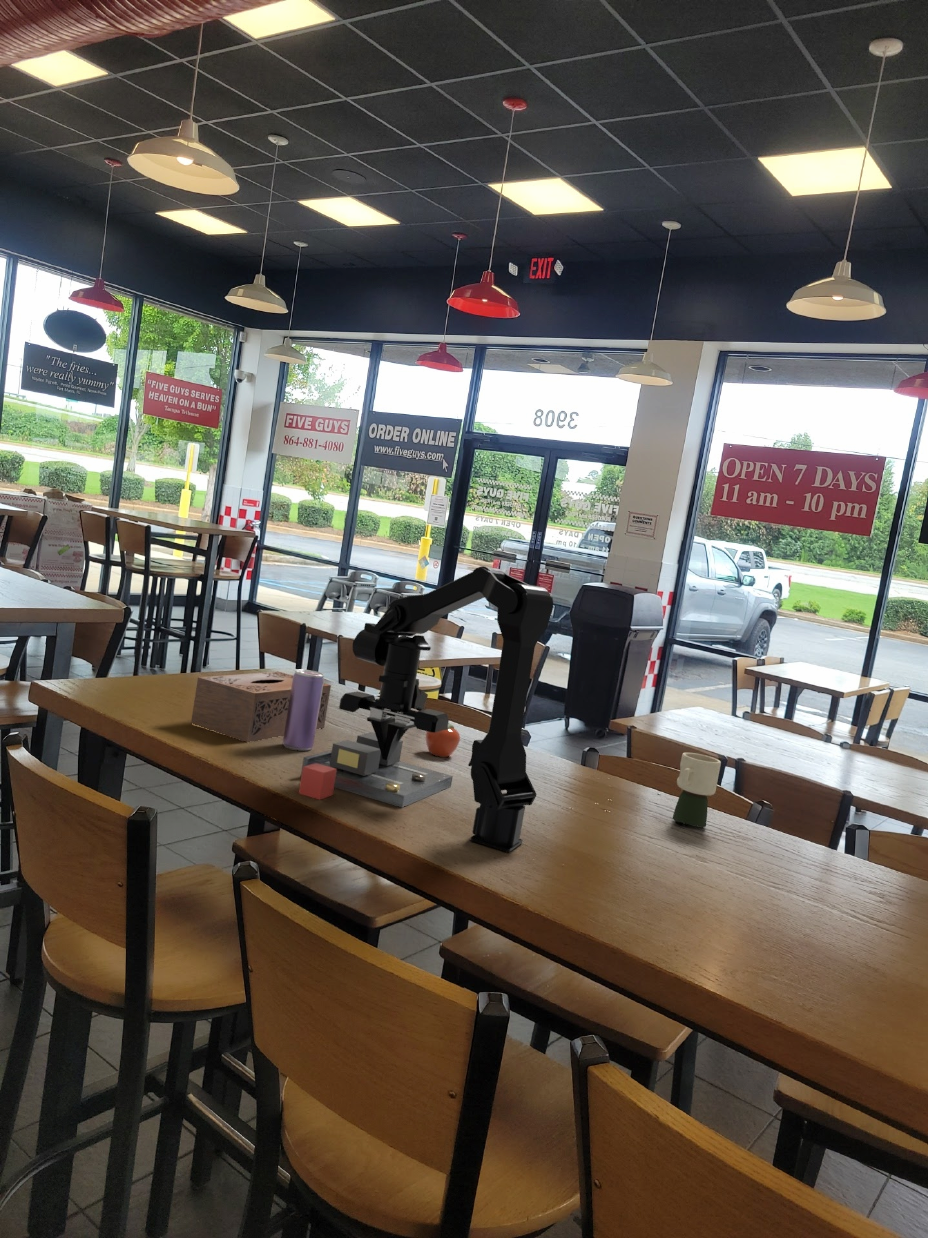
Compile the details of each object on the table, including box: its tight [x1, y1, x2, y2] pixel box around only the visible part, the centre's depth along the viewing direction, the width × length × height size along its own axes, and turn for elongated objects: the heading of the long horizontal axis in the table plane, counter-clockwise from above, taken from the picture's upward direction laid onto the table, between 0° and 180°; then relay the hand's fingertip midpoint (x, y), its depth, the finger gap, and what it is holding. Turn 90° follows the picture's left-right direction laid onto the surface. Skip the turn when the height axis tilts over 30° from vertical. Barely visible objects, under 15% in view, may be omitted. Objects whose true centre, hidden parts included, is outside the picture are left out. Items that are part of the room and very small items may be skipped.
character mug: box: [672, 752, 722, 828], centre depth 167 cm, size 11×7×13 cm, turn 138°
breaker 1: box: [329, 739, 381, 776], centre depth 157 cm, size 7×5×4 cm
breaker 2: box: [356, 732, 404, 766], centre depth 167 cm, size 7×5×4 cm
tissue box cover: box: [190, 670, 332, 743], centre depth 186 cm, size 26×14×10 cm, turn 154°
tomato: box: [424, 722, 461, 758], centre depth 189 cm, size 7×7×8 cm
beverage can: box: [282, 669, 325, 752], centre depth 174 cm, size 6×6×15 cm
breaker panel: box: [300, 749, 454, 808], centre depth 160 cm, size 20×20×4 cm
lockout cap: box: [298, 763, 337, 800], centre depth 146 cm, size 4×4×4 cm
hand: (385, 759), depth 155 cm, fingers closed
